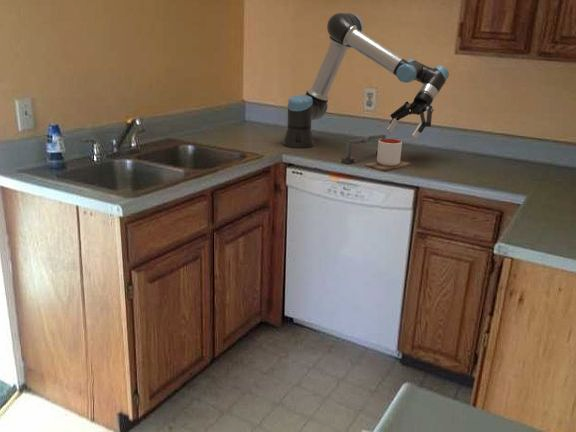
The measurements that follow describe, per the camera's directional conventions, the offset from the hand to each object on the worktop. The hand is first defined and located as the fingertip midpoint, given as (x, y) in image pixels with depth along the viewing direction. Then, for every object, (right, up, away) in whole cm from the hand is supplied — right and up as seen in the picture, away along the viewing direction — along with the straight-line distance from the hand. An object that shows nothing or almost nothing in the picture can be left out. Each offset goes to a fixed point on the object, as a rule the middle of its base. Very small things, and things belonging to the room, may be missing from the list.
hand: (400, 134), depth 235 cm
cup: (-5, -13, +1) cm, 14 cm away
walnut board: (-5, -13, +1) cm, 15 cm away
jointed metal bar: (-14, -9, +11) cm, 20 cm away
